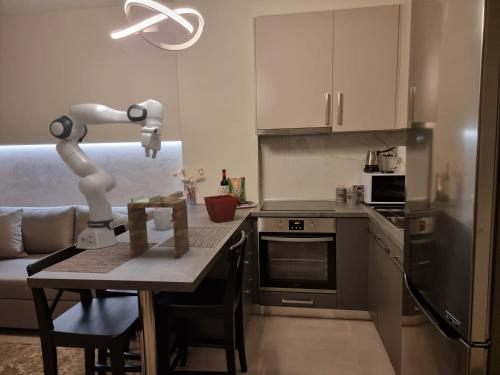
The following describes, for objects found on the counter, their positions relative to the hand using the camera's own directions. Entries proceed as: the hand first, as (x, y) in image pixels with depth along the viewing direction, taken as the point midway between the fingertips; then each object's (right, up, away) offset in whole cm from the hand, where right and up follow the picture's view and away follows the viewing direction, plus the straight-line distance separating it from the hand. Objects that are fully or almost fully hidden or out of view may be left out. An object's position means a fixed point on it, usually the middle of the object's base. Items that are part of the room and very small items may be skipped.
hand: (150, 158), depth 180 cm
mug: (-3, -43, +44) cm, 61 cm away
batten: (+14, -21, -10) cm, 27 cm away
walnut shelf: (+8, -48, -10) cm, 50 cm away
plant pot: (+31, -39, +65) cm, 82 cm away
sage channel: (+1, -22, -12) cm, 25 cm away
